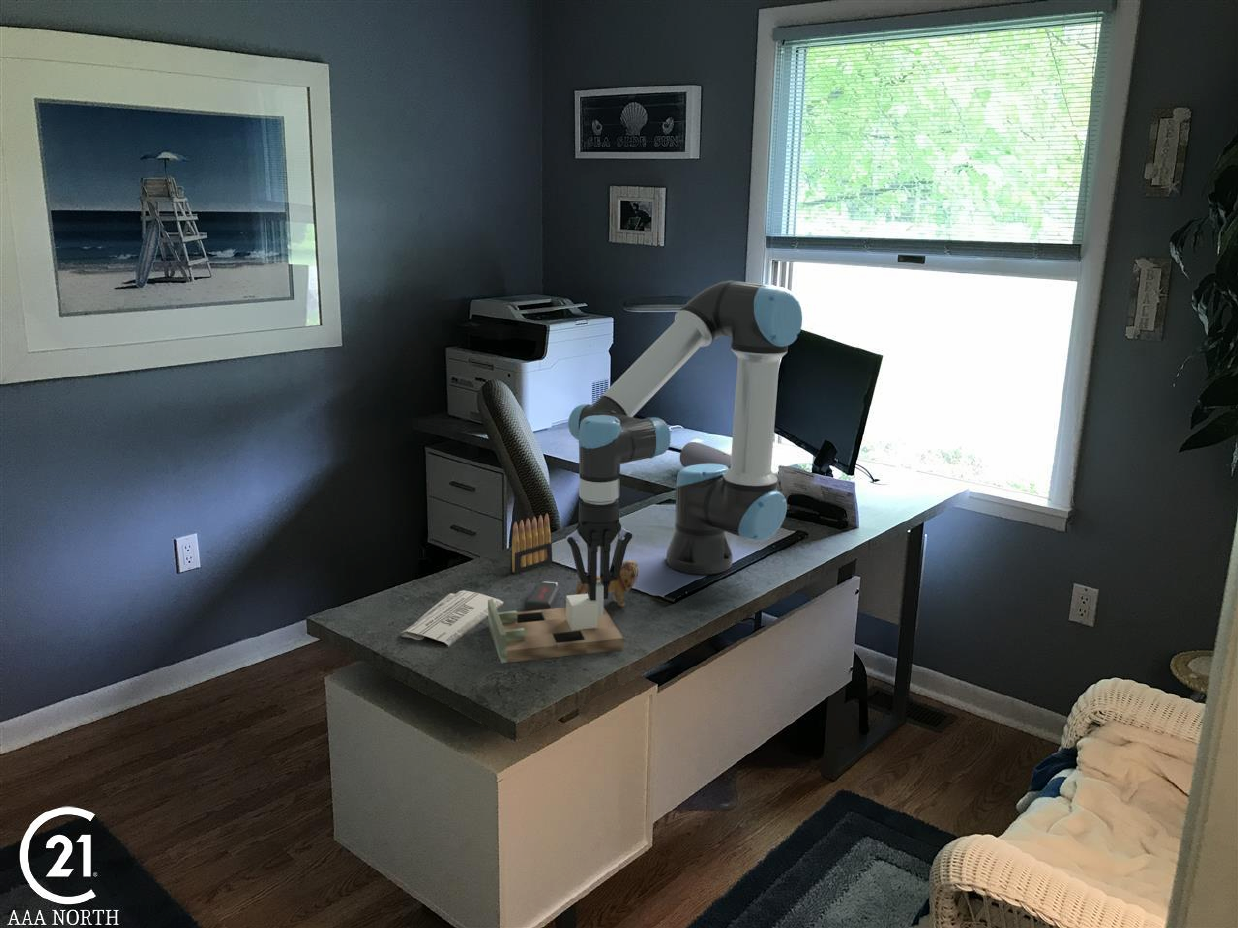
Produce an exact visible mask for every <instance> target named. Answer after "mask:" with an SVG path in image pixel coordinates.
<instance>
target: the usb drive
mask: <svg viewBox="0 0 1238 928" xmlns="http://www.w3.org/2000/svg"><path fill="white" fill-rule="evenodd" d="M558 583H559V582H556V581H541V582H538V583H537V585H535V587H534V588H533V590H532V591H531V593H530V594H529V596H528V598H527V600H526V603H525V611H533V610H543V609H553V608H554V606H555V605H556V603H557V600H558V599H559V596H560V588H559V584H558Z"/></svg>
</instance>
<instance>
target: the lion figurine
mask: <svg viewBox="0 0 1238 928" xmlns="http://www.w3.org/2000/svg"><path fill="white" fill-rule="evenodd" d="M638 576H639V569H638V563H637V562H635V561H634V560H630V559H629V560H625V561H623V562H622V566H621V570H620V574H619V577H618V580H616V581H614V580H613V581H611V582H610V585H609V589H608V594H609V593H612V594H613V596H612V599H613V601H614V602H615V603H617V605H618V606H619V607H621V608H623V607H625V602H623V600H624V599H623V598H624V592H626V591H630V590H631V589H632V588H633V586H634V585H635V583H636V581H637V580H638ZM599 580H600V581H601V579H600V574H599V575H598V574H597V581H599ZM579 594H588V584H586V583H585V584H583V583H582V582H581V580H580V579H579V581H578V583H577V585H576V589H575V594H574V595H579Z"/></svg>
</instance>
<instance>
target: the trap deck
mask: <svg viewBox="0 0 1238 928" xmlns="http://www.w3.org/2000/svg"><path fill="white" fill-rule="evenodd" d="M487 621H488V622H487V623H488V629H489V631H490V634H491V637H492V640H493V643H494V647H495V650H496V652H497V654H498V658H499V661H500V663H501V664H505V663H506V664H507V663H514V662H524V661H525V662H526V661H534V660H542V659H552V658H560V657H562V658H563V657H569V656H579V655H588V654H596V653H597V654H598V653H606V652H612V651H623V650H624V637H623V635H622V634H621V632H620V631H619V630H618V628H617V626H616V625H615V623H614V621H613V620H612V618H611V616H610V614H609V613H608V612H607V610H606V609H605V607H604V606H603V617H599V618H598V623H597V628H590V629H581V630H572V629H571V628H570V626H569V624H568V622H567V620H566V606H564V607H555V608H554V607H553V609H543V610H533V611H517V610H505V611H498V608H497V609H496V606H495V604H494V601H493V599H492V600H488V616H487Z"/></svg>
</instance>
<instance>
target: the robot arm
mask: <svg viewBox="0 0 1238 928" xmlns="http://www.w3.org/2000/svg"><path fill="white" fill-rule="evenodd" d="M674 315H675V316H674V322H673V323H672V324H671V325H670V326H669V327H668V328H667V329H666V330H665V331H663V333H662V334H661V335H660V336H659V337H658V338H657V339H656V340H655V341H654V342H653V343H652V344H651V345H650V346H649V347H648V348H647V349H645V351H644V352H643V353H642V354H641V356H639V357H638V358H637V359H636V360H635V361H634V362H633V363H632V364H631V365H630V367H629V368H627V370H625V372H624V373H623V374H621V375H620V376H619V378H618V379H617V380H616V381H614V382H613V383H612V384H611V386H609V388H608V389H607V390H605V392H603V394H602V395H601V396H600V397H599V398H598V399H597V400H596V401H595V402H594V403H593V404H590V403H589V404H580V405H577V406H575V407H574V409H573V410H571V412H570V415H569V417H568V421H567V423H568V424H567V425H568V426H567V427H568V430H569V433H570V434H571V436H572V437H573V438H574V439H576V440H577V441H578V452H579V454H578V456H579V457H578V458H579V459H578V462H579V465H578V466H579V469H578V470H579V473H578V474H579V482H578V483H579V485H578V487H579V488H578V489H579V490H578V491H579V492H578V493H579V494H578V496H579V497H580V499H579V501H578V523H577V525H576V528H575V529H576V530H574V531H573V532H571V533H567V534H565V536H564V538H565V539H564V540H566V542H567V543H568V544H569V546H570V549H571V554H572V557H573V561H574V566H575V568H576V573H577V577H578V578H579V581H580V580H581V582H582V583H583V584H585V583H586V584H588V597H589V599H590V600H591V601H593V600H596V602H597V603H598V618H599V617H603V607H604V600H608V599H609V593H608V589H609V585H610V582H611V581H613V580H614V581H616V580H618V577H619V574H620V570H621V566H622V563H623V562H624V559H625V554H626V550H627V547H628V544H629V543H630V542H631V540H632V538H633V533H631V531H630V530H629V529H628V528H624V527H622V524H621V523H620V520H619V519H620V500H619V497H620V476H621V475H620V473H621V465H625V464H628V463H632V462H637V461H641V460H642V461H643V460H647V459H654V458H655V457H657V456H662V455H663V454H665V453H667V451H668V450H669V448H670V447H671V435H672V434H671V430H670V428H669V426H668V424H667V423H666V421H664V420H663V419H662V418H659V417H649V416H648V417H645V418H643V419H640V418H635V417H634V416H635V415H636V414H637V413H638V412H639V411H640V410H641V409H642V408H643V407H644V406H645V405H646V404H647V402H649V400H651V398H652V397H654V395H655V394H656V393H657V392H658V391H659V390H660V389H661V388H662V387H664V385H665V384H666V383H667V382H668V381H669V380H670V379H671V378H672V377H673V376H674V375H675V374H676V372H678V371H679V370H680V369H681V368H682V366H683V365H685V363H686V362H687V361H688V360H689V359H690V358H691V357H692V356H693V355H694V354H695V353H696V352H697V351H698V350H699V349H700V348H705V347H709V346H710V345H711V343H713V341H715V340H716V339H719V338H721V337H730V338H731V342H730V343H731V344H730V350H731V351H732V352H733V353H734V355H735V356H736V357H737V367H736V380H735V382H736V383H735V395H734V411H733V412H734V413H733V423H732V425H733V427H732V440H731V441H732V443H731V454H730V455H731V467H730V469H729V468H728V467H727V466H726V465H722V464H696V465H691V466H687V467H683V468H681V469H680V470H678V472H677V477H676V485H675V524H674V527H675V528H674V532H673V535H672V536H671V539H670V542H669V546H668V547H667V550H666V564H667V565H668V566H669V567H670V568H672V569H673V570H675V571H677V572H681V573H685V574H689V575H691V574H692V575H703V576H704V575H707V576H708V575H715V574H720V573H724V572H726V571H729V569H731V567H732V566H733V552H732V548H731V545H730V541H729V537H728V534H727V533H730V534H732V535H734V536H736V537H739V538H741V539H743V540H749V541H753V542H758V543H759V542H764V541H767V540H769V539H770V538H772V537H773V536H774V535H775V534H776V533H777V532H778V530H779V529H780V528H781V526H782V525H783V523H784V520H785V518H786V515H787V511H788V503H787V502H788V501H787V498H785V496H784V495H783V493H782V492H780V491H779V490H778V477H777V475H776V474H775V473H774V472H773V471H772V461H773V448H774V436H775V433H774V432H775V421H776V410H777V409H776V407H777V396H778V395H777V393H778V380H779V368H780V360H781V359H782V358H783V357H784V356H785V355H786V354H787V353H788V348H789V346H790V345H792V344H794V343H795V341H796V340H797V338H798V335H799V334H800V332H801V329H802V325H803V312H802V307H801V304H800V301H799V300H798V298H797V297H796V296H795V294H794V293H793V292H792V291H791V290H789V289H787V288H785V287H781V286H777V285H776V286H775V285H774V284H766V283H755V282H745V281H739V280H726V281H721V282H718V283H715V284H713V285H710V286H709V287H707V288H705V289H704V290H703V291H700V292H699V293H698V294H696V295H695V296H693V298H691V299H689V301H687V302H686V304H684V305H683V306H682V307H681V308H680V309H679V310H678V311H677V312H676V313H675V314H674ZM616 537H617V541H616V544H615V549H614V552H613V557H612V560H610V558H611V555H610V554H611V550H612V548H611V546H612V545H611V544H612V543H613V542H614V540H615V538H616ZM580 538H582V540H583V541H584V542H585V544H586V548H587V570H586V568H585V566H584V565H585V564H584V561H583V558H582V553H581V549H580V547H579V543H580ZM599 548H600V549H599ZM598 549H599V550H598ZM598 551H600V552H599V553H600V554H599V555H600V557H599V558H600V559H599V561H600V562H599V564H600V565H599V576H600V579H601V581H600V580H599V581H597V575H598V574H597V572H598V568H597V567H598V566H597V565H598ZM610 561H611V564H610ZM586 571H587V573H586Z"/></svg>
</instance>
